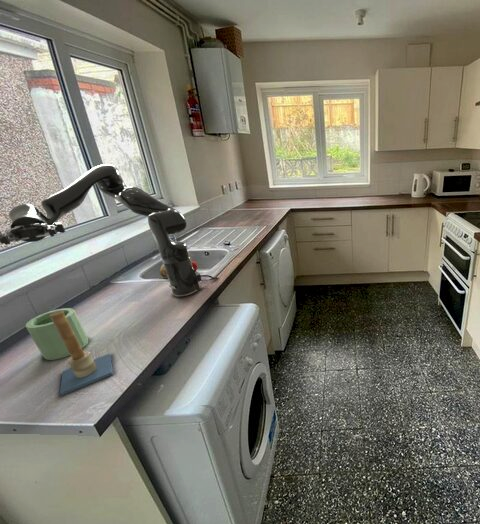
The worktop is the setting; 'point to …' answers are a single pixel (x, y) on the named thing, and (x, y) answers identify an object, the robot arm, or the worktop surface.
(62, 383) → the mat
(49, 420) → the worktop surface
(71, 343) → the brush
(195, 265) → the strawberry
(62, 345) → the green pot
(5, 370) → the worktop surface
